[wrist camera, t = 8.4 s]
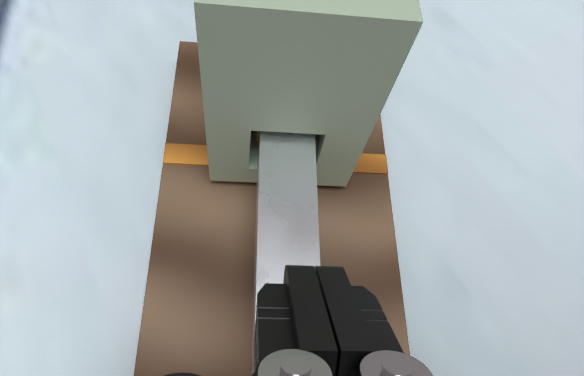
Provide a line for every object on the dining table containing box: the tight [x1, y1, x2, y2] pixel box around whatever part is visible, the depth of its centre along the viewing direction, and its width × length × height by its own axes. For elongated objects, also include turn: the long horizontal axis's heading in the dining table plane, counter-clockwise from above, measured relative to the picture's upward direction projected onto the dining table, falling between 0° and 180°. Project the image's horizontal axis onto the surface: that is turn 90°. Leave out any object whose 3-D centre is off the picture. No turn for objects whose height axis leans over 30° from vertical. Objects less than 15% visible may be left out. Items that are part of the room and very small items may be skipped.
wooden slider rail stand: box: [134, 41, 410, 376], centre depth 20 cm, size 28×12×8 cm, turn 1°
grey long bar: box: [251, 131, 320, 375], centre depth 19 cm, size 23×2×2 cm, turn 1°
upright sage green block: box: [194, 0, 423, 187], centre depth 20 cm, size 5×7×11 cm
